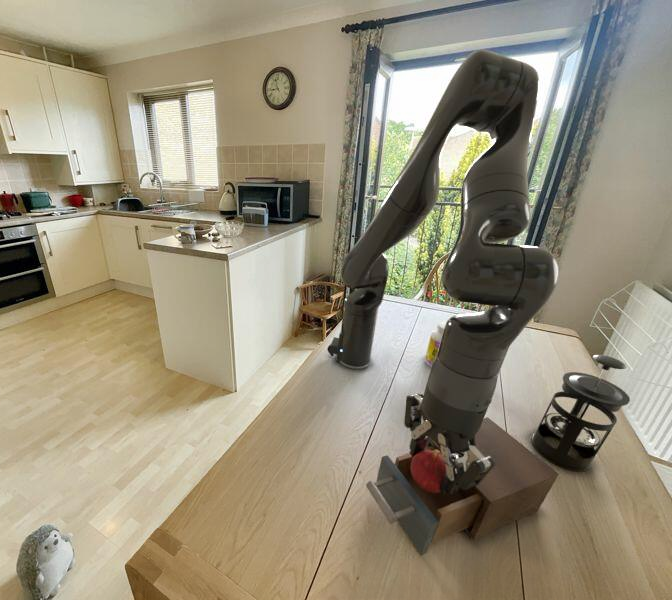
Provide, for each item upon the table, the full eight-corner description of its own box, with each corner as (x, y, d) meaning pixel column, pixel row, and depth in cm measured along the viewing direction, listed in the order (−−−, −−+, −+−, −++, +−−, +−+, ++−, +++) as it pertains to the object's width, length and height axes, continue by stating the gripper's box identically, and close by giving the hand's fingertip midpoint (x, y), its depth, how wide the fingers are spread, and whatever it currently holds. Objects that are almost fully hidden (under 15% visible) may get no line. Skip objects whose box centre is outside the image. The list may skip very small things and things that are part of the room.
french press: (586, 483, 58) (649, 386, 48) (525, 451, 64) (570, 359, 55) (594, 448, 65) (650, 357, 55) (538, 422, 71) (580, 336, 62)
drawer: (394, 567, 45) (404, 536, 42) (352, 494, 55) (357, 464, 52) (488, 526, 50) (503, 495, 47) (434, 465, 60) (443, 436, 57)
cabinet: (472, 540, 49) (490, 502, 45) (416, 471, 60) (426, 435, 56) (537, 511, 53) (559, 473, 49) (473, 451, 64) (487, 416, 60)
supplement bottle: (424, 367, 90) (434, 329, 85) (423, 355, 96) (433, 318, 90) (450, 373, 88) (462, 333, 82) (448, 360, 93) (459, 322, 88)
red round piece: (450, 507, 48) (464, 473, 44) (410, 500, 49) (421, 465, 45) (439, 473, 53) (451, 439, 49) (404, 467, 54) (413, 433, 50)
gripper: (399, 363, 47) (382, 441, 54) (484, 437, 35) (447, 526, 42) (438, 354, 49) (417, 431, 56) (532, 421, 37) (489, 508, 44)
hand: (430, 471), depth 49 cm, fingers closed on red round piece, 6 cm apart
